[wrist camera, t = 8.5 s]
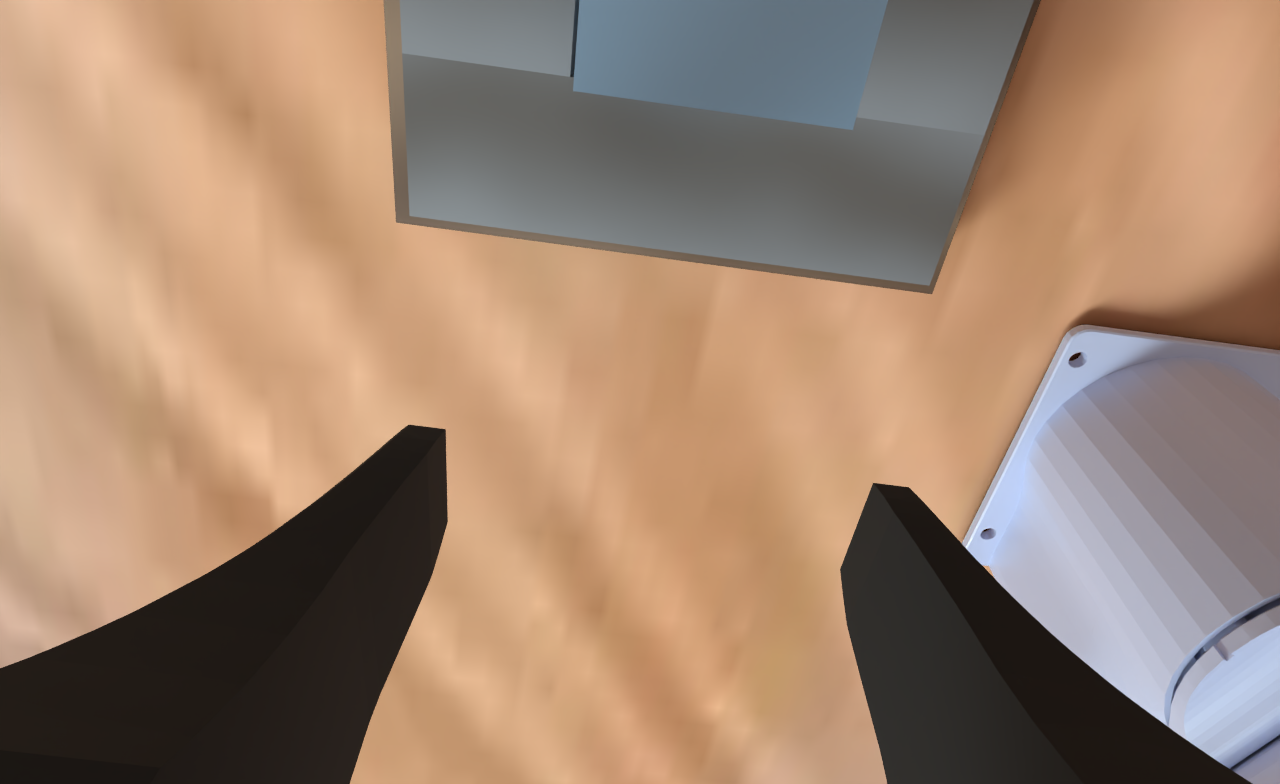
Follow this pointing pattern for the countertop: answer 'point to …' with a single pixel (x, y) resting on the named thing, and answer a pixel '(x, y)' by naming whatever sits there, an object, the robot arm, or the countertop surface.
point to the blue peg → (732, 55)
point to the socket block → (696, 145)
